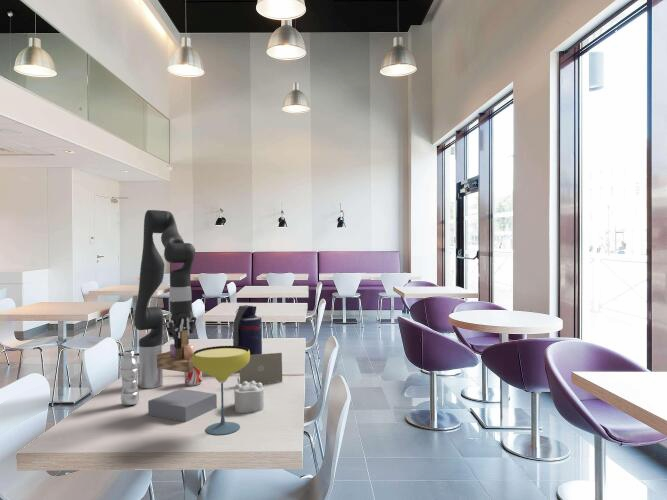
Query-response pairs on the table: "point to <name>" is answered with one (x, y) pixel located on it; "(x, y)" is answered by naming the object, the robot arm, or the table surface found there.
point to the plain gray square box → (182, 405)
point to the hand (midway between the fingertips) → (181, 347)
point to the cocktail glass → (221, 375)
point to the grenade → (248, 329)
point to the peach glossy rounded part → (188, 351)
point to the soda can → (193, 377)
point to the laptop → (262, 369)
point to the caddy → (178, 362)
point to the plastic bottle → (129, 379)
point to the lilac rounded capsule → (172, 351)
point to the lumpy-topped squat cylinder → (249, 397)
